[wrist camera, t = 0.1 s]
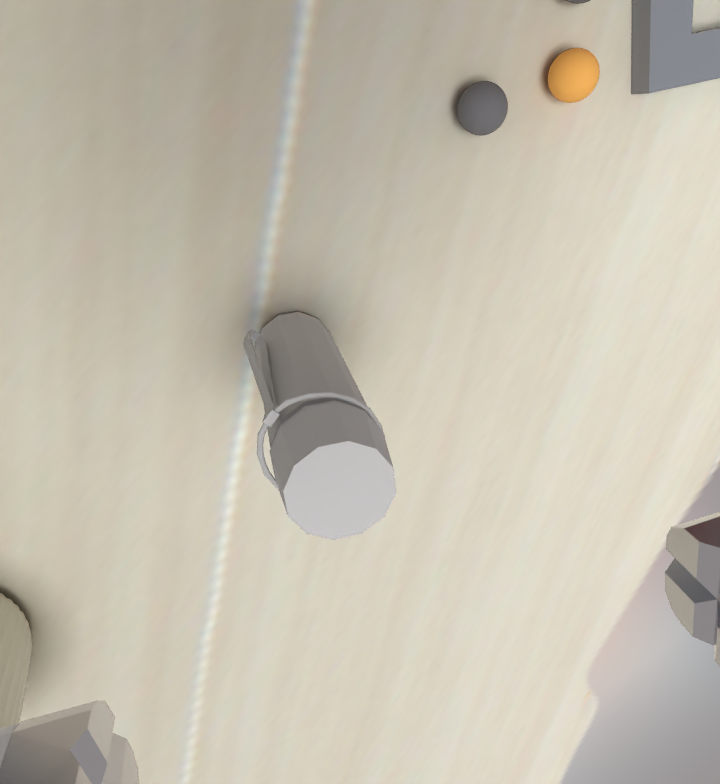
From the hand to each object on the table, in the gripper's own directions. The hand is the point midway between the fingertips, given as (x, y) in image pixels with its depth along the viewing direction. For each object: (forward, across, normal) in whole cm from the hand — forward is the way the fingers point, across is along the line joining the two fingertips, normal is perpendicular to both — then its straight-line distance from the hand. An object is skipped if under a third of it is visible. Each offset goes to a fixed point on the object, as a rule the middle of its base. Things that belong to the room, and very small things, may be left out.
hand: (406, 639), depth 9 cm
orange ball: (+46, -28, -5) cm, 54 cm away
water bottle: (+48, 0, +12) cm, 50 cm away
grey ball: (+46, -20, -4) cm, 50 cm away
